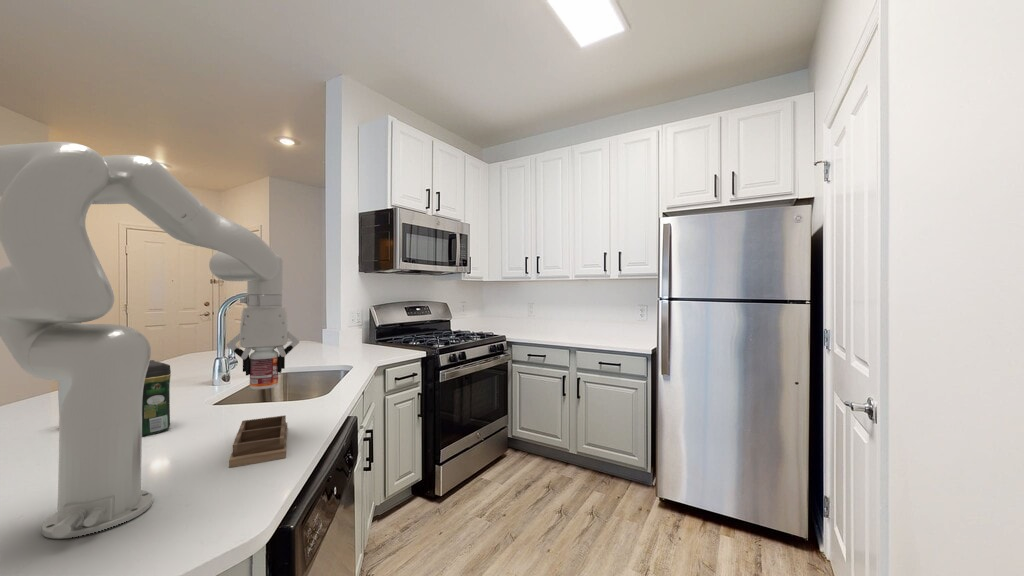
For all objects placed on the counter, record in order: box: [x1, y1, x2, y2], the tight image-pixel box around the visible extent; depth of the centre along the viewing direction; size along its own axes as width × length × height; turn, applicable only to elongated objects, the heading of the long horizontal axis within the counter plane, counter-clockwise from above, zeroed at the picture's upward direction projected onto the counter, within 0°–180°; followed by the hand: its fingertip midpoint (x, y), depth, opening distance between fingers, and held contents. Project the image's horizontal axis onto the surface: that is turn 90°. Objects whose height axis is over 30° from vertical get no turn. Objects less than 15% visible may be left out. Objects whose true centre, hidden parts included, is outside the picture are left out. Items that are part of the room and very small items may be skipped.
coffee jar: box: [142, 359, 172, 436], centre depth 104 cm, size 10×8×19 cm
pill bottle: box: [249, 347, 279, 390], centre depth 99 cm, size 6×6×11 cm
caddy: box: [228, 415, 288, 469], centre depth 95 cm, size 22×10×4 cm, turn 29°
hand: (264, 372), depth 99 cm, fingers closed on pill bottle, 6 cm apart
